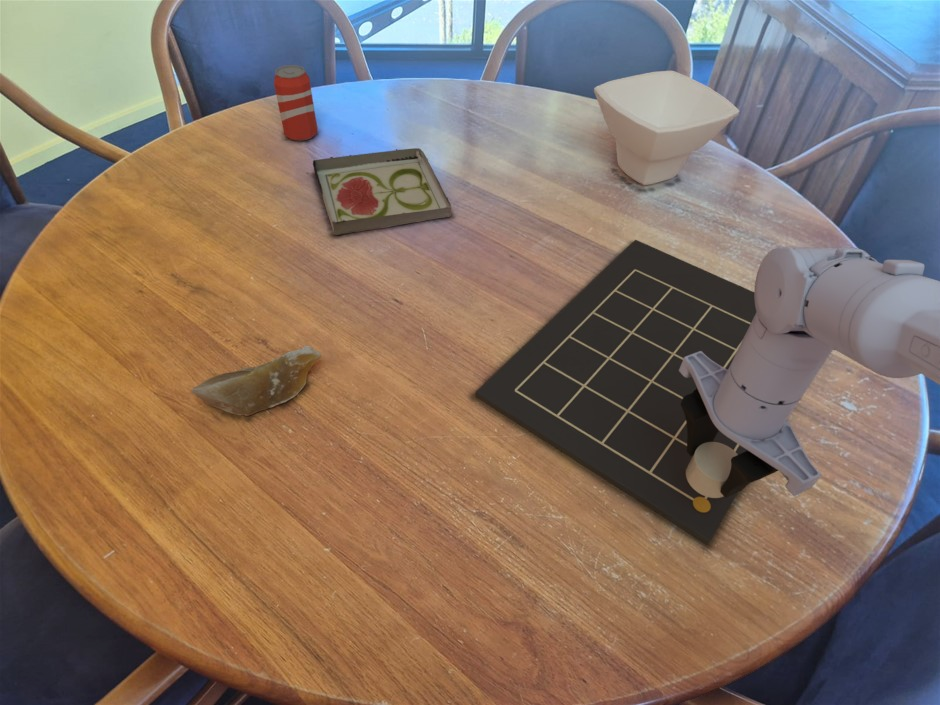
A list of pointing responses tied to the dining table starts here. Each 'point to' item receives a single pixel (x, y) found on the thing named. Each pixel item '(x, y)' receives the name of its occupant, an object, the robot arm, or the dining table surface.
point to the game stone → (710, 468)
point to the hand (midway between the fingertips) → (713, 470)
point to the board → (629, 378)
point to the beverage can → (295, 102)
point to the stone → (259, 384)
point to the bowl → (660, 121)
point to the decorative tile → (380, 190)
